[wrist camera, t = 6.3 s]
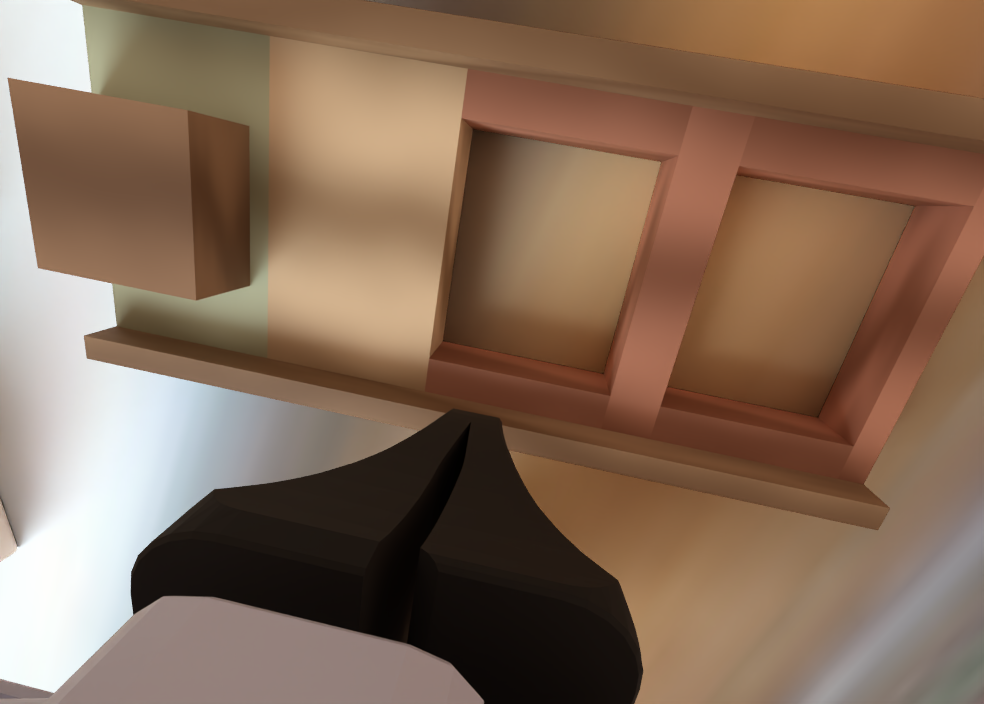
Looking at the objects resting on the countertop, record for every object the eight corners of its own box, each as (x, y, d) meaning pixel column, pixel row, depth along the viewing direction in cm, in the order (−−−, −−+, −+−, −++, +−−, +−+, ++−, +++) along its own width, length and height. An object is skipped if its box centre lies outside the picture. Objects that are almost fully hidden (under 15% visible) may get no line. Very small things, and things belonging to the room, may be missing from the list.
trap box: (818, 470, 21) (877, 530, 17) (164, 332, 23) (87, 358, 19) (978, 138, 16) (1108, 118, 12) (140, 1, 18) (31, -53, 14)
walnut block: (249, 285, 19) (196, 300, 16) (114, 258, 19) (38, 268, 16) (249, 126, 17) (186, 110, 14) (98, 98, 17) (7, 78, 14)
